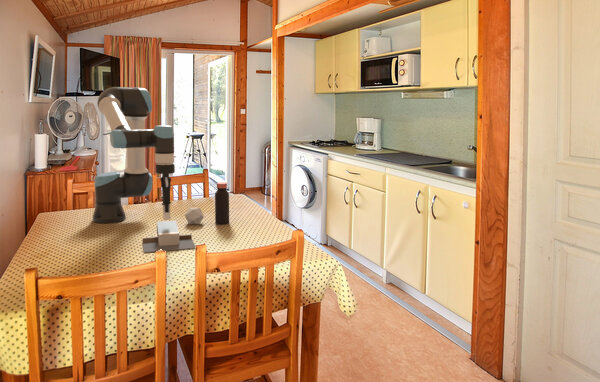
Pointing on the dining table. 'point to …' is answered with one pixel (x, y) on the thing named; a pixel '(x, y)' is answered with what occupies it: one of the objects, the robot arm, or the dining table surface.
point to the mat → (168, 246)
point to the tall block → (167, 233)
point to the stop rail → (152, 239)
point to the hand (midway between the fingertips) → (166, 219)
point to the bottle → (222, 204)
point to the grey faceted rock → (194, 216)
